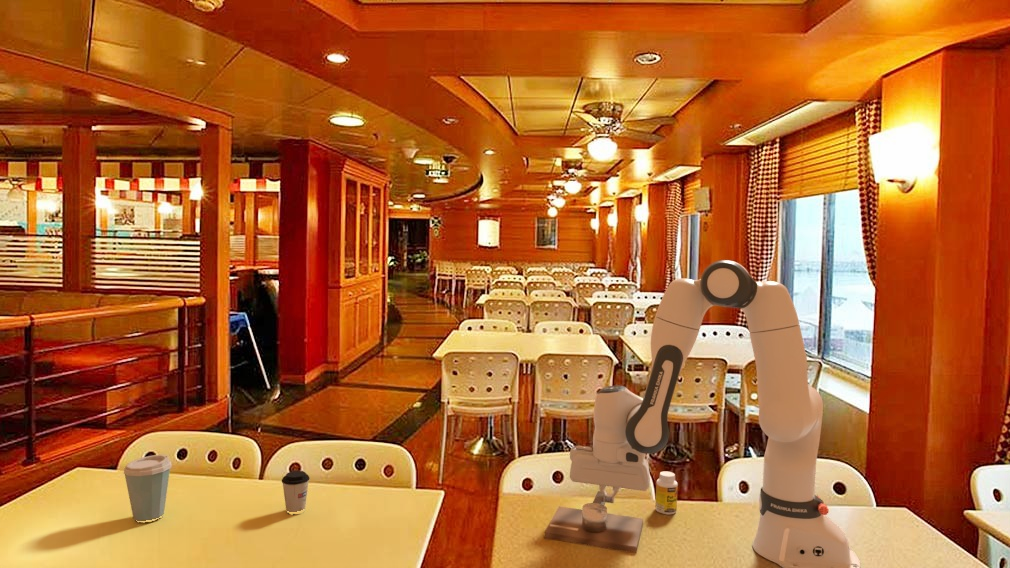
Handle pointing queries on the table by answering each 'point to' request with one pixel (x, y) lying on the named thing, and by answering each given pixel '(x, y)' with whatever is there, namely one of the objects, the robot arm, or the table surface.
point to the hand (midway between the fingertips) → (608, 502)
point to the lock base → (616, 536)
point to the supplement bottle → (666, 493)
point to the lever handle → (595, 515)
